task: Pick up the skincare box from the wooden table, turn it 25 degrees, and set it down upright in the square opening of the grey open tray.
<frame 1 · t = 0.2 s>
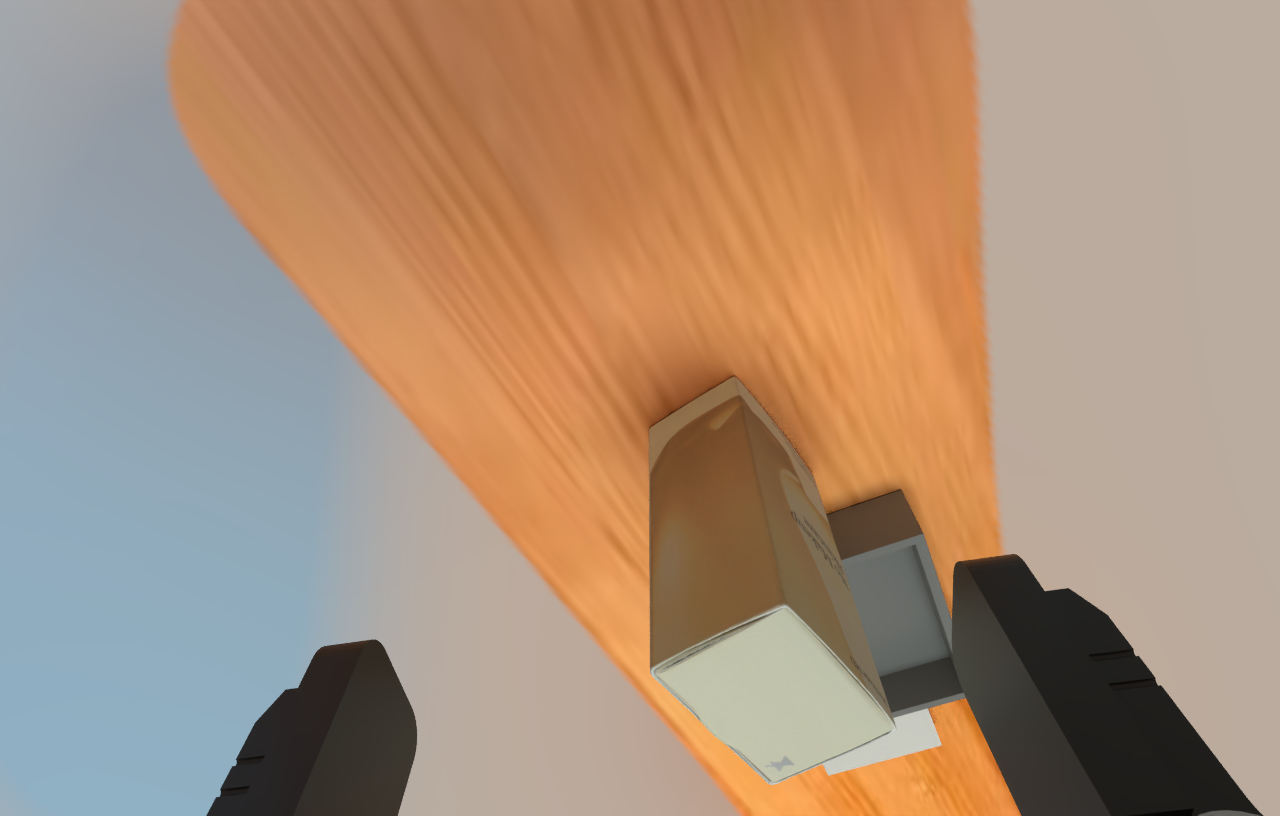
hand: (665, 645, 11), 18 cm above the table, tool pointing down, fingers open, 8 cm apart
grey open tray: (818, 608, 35), on the table
skincare box: (729, 447, 31), on the table
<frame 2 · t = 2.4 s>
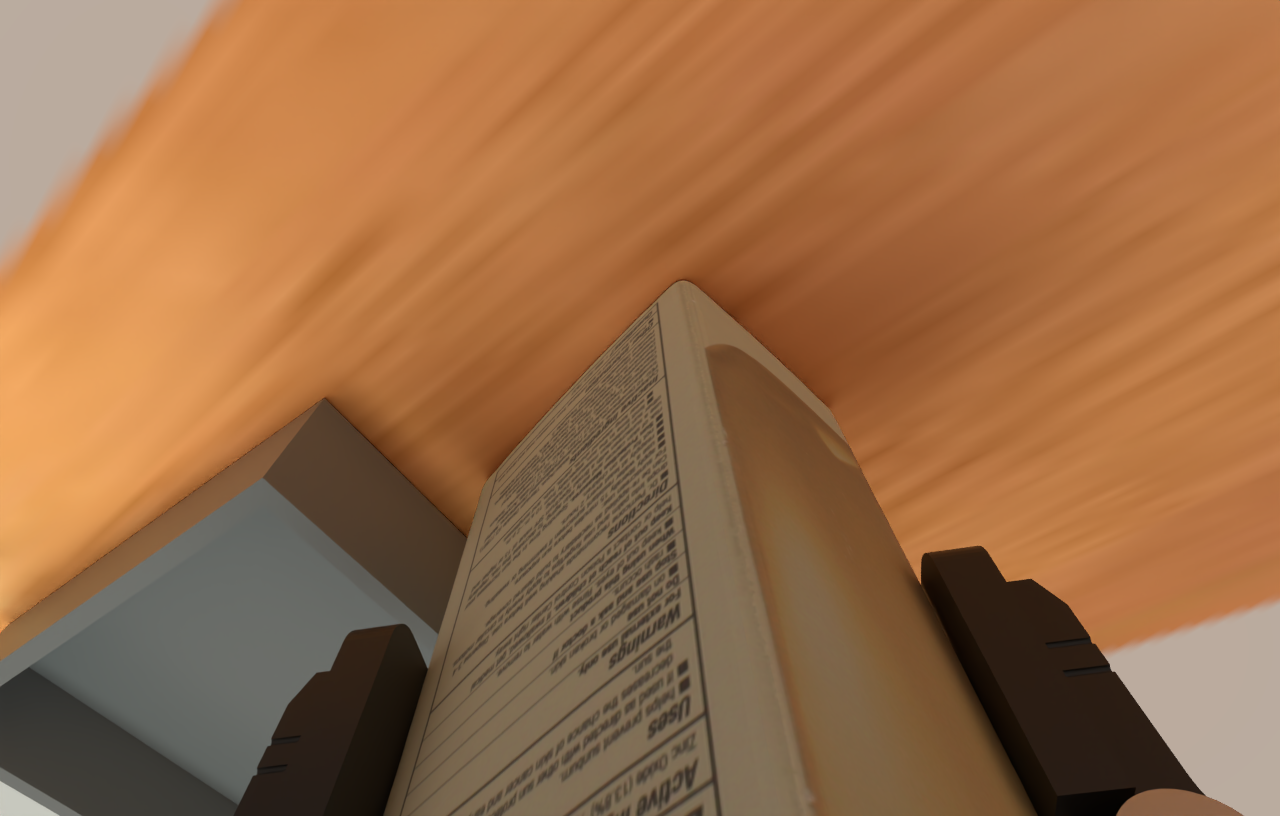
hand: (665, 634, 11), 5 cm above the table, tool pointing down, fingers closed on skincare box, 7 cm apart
grey open tray: (330, 663, 18), on the table
skincare box: (658, 435, 16), on the table, touching gripper
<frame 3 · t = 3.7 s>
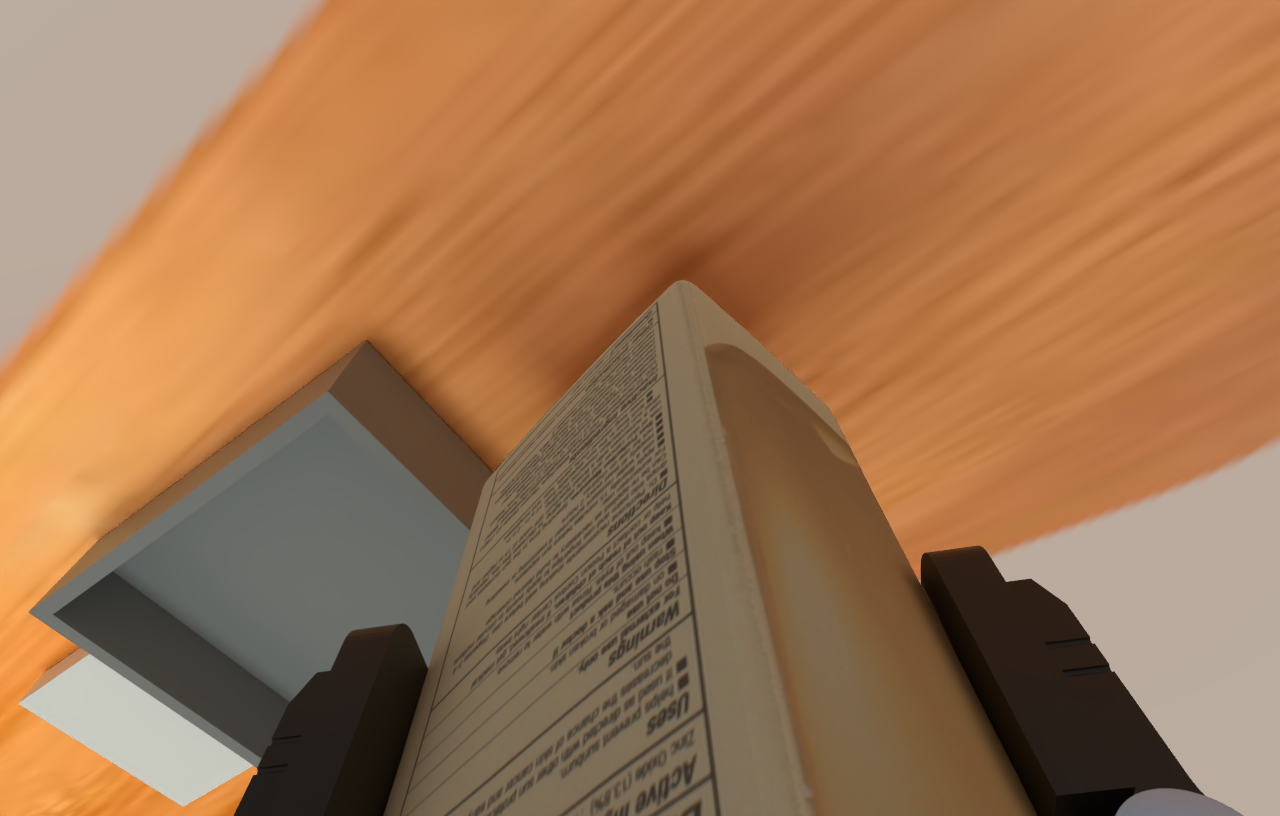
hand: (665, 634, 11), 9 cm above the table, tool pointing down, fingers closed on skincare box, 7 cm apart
grey open tray: (365, 572, 22), on the table
skincare box: (658, 435, 16), point 4 cm above the table, touching gripper
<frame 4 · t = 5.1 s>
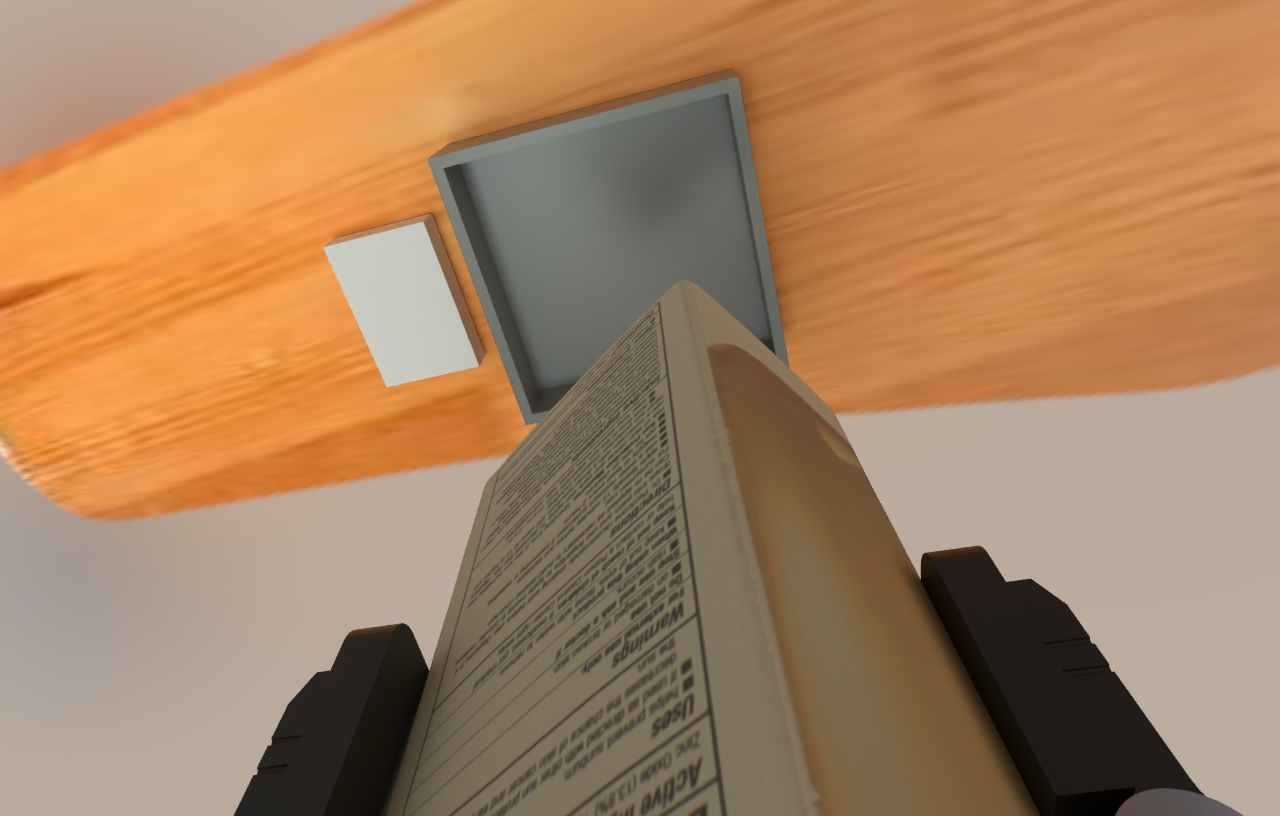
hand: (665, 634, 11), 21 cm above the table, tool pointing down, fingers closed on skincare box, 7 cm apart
grey open tray: (623, 247, 29), on the table
skincare box: (659, 435, 16), point 15 cm above the table, touching gripper
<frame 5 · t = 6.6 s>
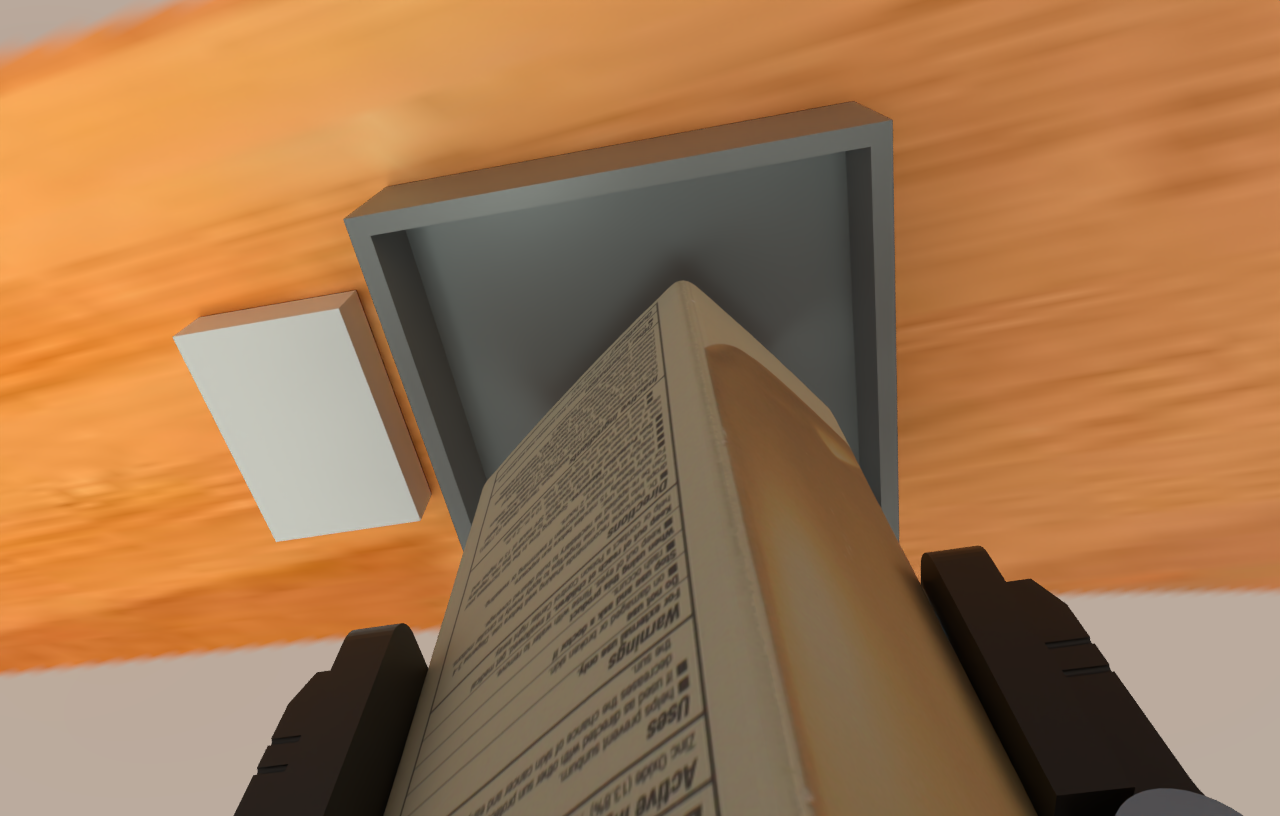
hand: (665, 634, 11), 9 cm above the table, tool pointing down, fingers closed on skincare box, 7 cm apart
grey open tray: (653, 358, 19), on the table
skincare box: (658, 435, 16), point 4 cm above the table, touching gripper
when the fingers open (7 cm above the table, at t = 7.6 s): skincare box drops 1 cm, resting on grey open tray.
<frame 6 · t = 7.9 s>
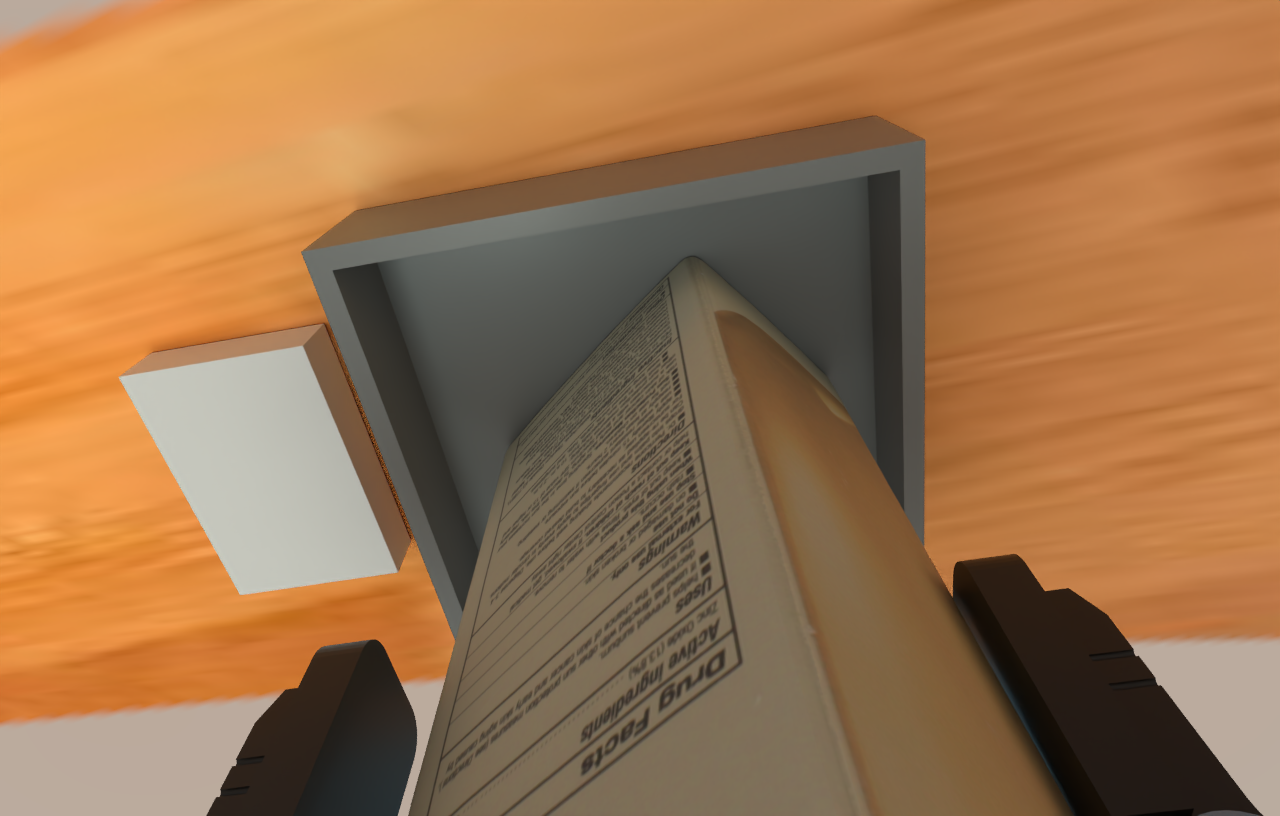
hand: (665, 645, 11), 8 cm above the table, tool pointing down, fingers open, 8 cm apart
grey open tray: (652, 396, 17), on the table
skincare box: (668, 404, 17), point 1 cm above the table, touching gripper, grey open tray
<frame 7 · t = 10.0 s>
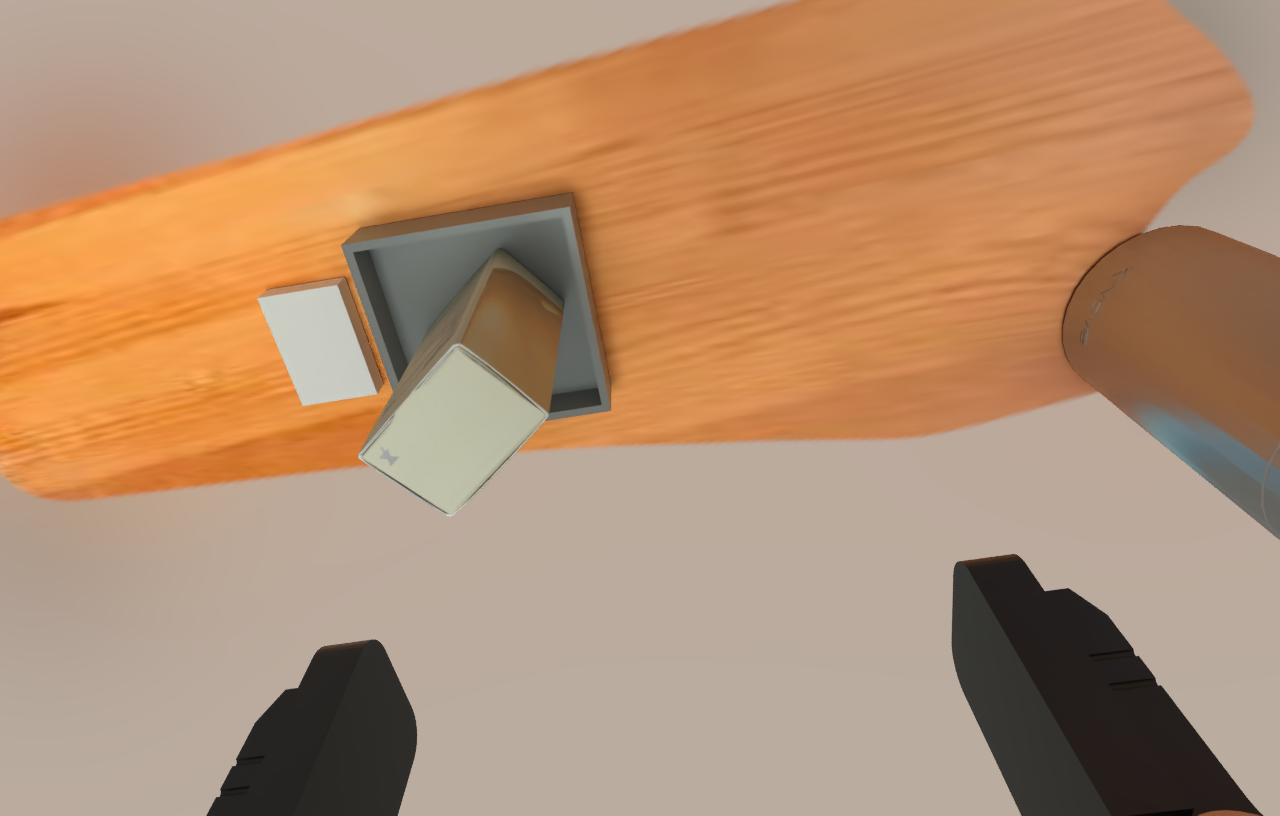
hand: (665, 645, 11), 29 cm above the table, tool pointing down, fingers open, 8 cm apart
grey open tray: (492, 311, 39), on the table
skincare box: (497, 313, 38), point 1 cm above the table, touching grey open tray
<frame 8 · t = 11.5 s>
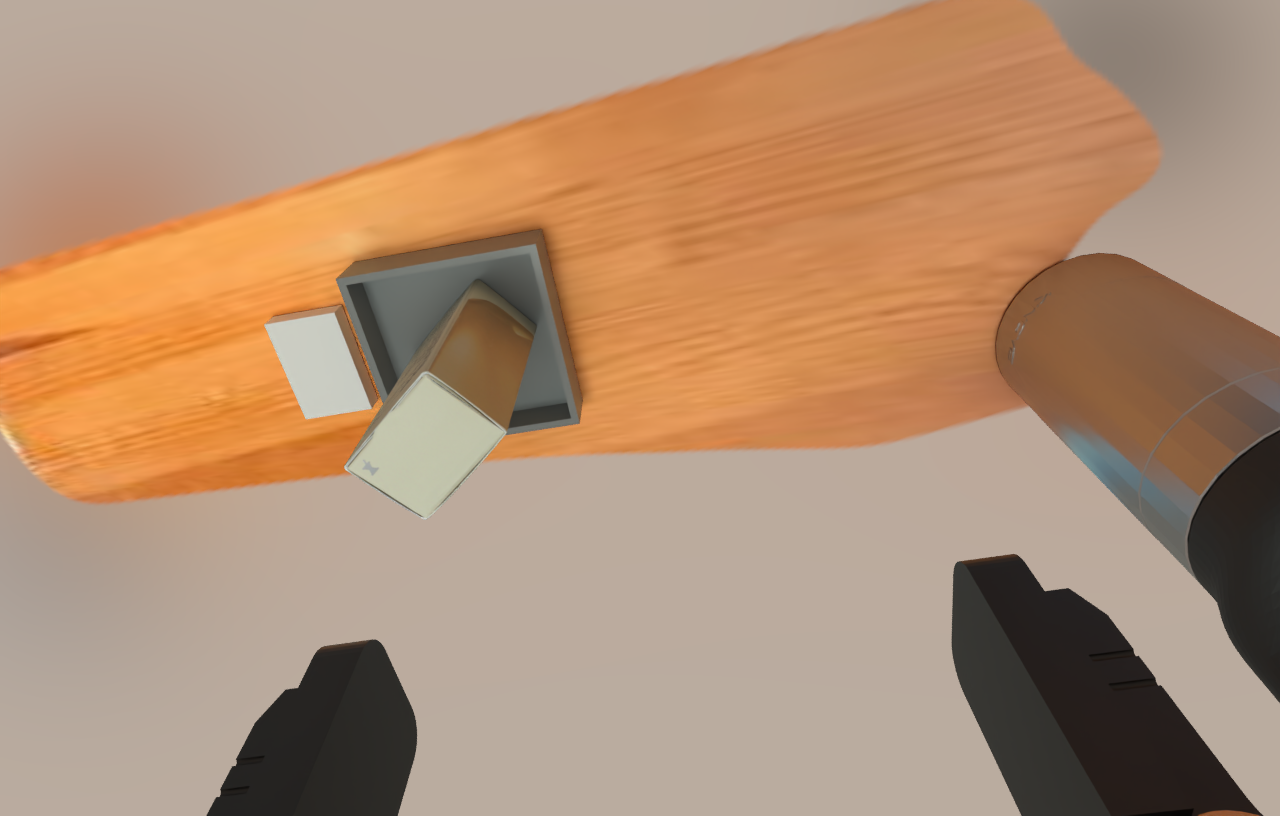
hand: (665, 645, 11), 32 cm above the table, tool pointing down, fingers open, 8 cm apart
grey open tray: (473, 334, 43), on the table
skincare box: (477, 336, 42), point 1 cm above the table, touching grey open tray
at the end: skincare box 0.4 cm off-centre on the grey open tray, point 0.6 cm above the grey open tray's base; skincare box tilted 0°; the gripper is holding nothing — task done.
